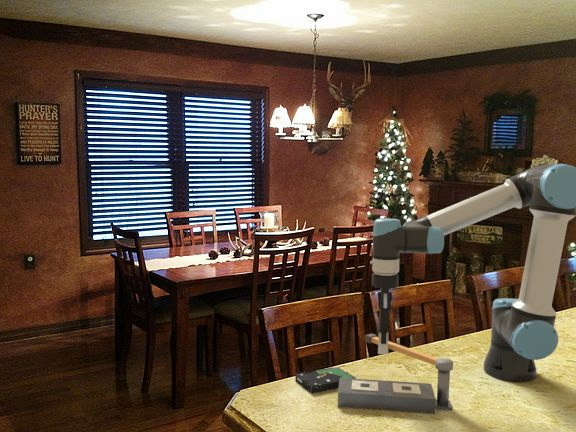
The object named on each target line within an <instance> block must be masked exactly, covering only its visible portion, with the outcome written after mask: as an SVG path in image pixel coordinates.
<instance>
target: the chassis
mask: <svg viewBox="0 0 576 432" xmlns="http://www.w3.org/2000/svg"><path fill="white" fill-rule="evenodd" d="M436 400H437V397H436V395H435V392H434V388H433V386H432V383H426V382H425V383H424V382H412V381H411V382H410V381H408V382H407V381H398V380H397V381H394V380H382V379H381V380H380V379H367V378H365V379H364V378H356V379H353V378H340V380H339V388H338V389H337V407H338V408H345V409H347V408H348V409H361V410H373V411H374V410H375V411H386V412H387V411H389V412H400V413H403V412H404V413H414V414H415V413H416V414H428V415H429V414H430V415H435V414H436V409H435V407H436Z"/></svg>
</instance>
